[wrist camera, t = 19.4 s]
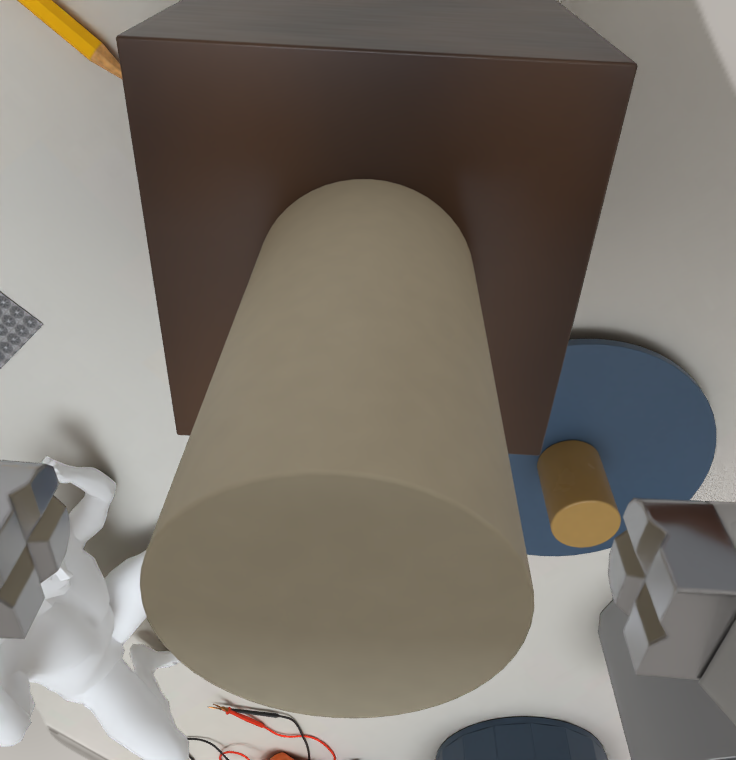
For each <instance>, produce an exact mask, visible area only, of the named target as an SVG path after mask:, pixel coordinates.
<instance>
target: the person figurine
mask: <svg viewBox="0 0 736 760" xmlns="http://www.w3.org/2000/svg"><path fill="white" fill-rule="evenodd" d="M41 463H44V464H48V465H51V466H53V467H54V470H55V472H56V475H57V478H58V481H59V482H61V483H68V482H71V483H72V484H74V485H75V486H77V487H79V488H80V489H82V490H83V491H84V492H85V497H84V498H83V499H82V500H81V501H80V502H79V503H78V504H77V505H76V506H75V507H74V508H73V510H72V511H71V512H70V514H69V518H70V537H69V542H68V547H67V552H66V555H65V557H64V559H63V561H62V564H61V566H60V568H59V570H58V571H57V572H56V573H55V574H53V575H52V576H50V577H49V578H48V579H46V580H45V581H43V582H42V583H41V586H42V589H43V592H44V595H45V599H44V601H43V603H42V605H41V607H40V609H39V611H38V613H37V615H36V617H35V619H34V621H33V623H32V625H31V627H30V629H29V631H28V633H27V635H26V637H25V639H9V638H0V747H3V746H13V745H15V744H17V743H19V742H20V741H21V740H22V739H23V737H24V734H25V732H26V730H27V728H28V727H29V726H30V724H31V720H30V717H31V714H32V712H33V709H34V707H35V702H34V700H33V697H32V695H31V692H30V683H29V682H35V683H39V684H41V685H43V686H45V687H47V689H48V690H50V691H53V692H56V693H57V694H58V695H60V696H61V697H62V698H63V699H65V700H66V701H70V702H75V703H79V704H83V705H84V706H85V707H86V708H88V709H89V710H91V711H92V712H93V714H94V715H95V717H96V718H97V720H98V721H99V723H100V724H101V726H102V727H103V729H104V730H105V732H106V733H107V735H108V736H109V737H110V738H111V739H113V740H114V741H116V742H117V743H119V744H120V745H122V746H123V747H125V748H126V749H128V750H129V751H131V752H132V753H134V754H135V755H137V756H138V757H140V758H141V759H143V760H189V741H188V739H187V737H186V735H185V734H184V733H182V732H181V731H180V730H179V729H178V728H177V727H176V724H175V722H174V719H173V717H172V714H171V711H170V705H169V701H168V700H167V699H166V697H165V696H164V694H163V693H162V691H161V689H160V687H159V685H158V683H157V681H156V678H155V676H154V674H153V673H154V672H155V670H156V669H158V668H162V667H165V668H166V667H171V666H172V665H176V664H177V663H178V662H180V661H179V660H178V659H177V658H176V657H175V656H174V655H173V654H172V653H171V652H170V651H161V652H157V651H155V650H153V649H151V648H149V647H147V646H145V645H143V644H133V645H132V646H131V648H130V653H129V654H130V657H131V660H132V663H133V666H134V671H133V670H132V669H131V668H130V667H129V666H128V664H127V663H126V662H125V661H124V660H123V659H122V657H123V654H124V651H125V650H124V648H123V645H124V643H125V642H126V641H127V640H128V639H129V637H130V636H131V635H132V634H133V633H134V631H135V630H136V629H137V628H138V627H139V625H140V624H141V623H142V622H143V621H144V619H145V618H146V617H147V616H146V613H145V611H144V608H143V605H142V599H141V591H140V574H141V566H142V563H143V560H144V556H145V553H146V550H145V551H144V552H142V553H140V554H139V555H136V556H133V557H131V558H128V559H126V560H125V561H124V562H122V563H121V564H120V565H118V566H117V567H116V568H114V569H113V570H112V571H110V573H109V574H108V575H107V576H106V577H105V578H104V577H103V575H102V573H101V570H100V568H99V566H98V564H97V562H96V560H95V558H94V557H93V556H91V555H90V554H89V553H87V552H86V551H84V550H83V549H84V546H85V544H86V542H87V541H88V540H89V539H90V538H92V537H93V536H94V535H95V534H96V533H97V532H98V531H100V530H101V529H102V528H103V526H104V523H105V521H106V518H107V513H108V508H109V506H110V504H111V502H112V500H113V498H114V496H115V491H116V483H115V482H114V481H113V480H112V479H111V478H109V477H108V476H107V475H105V474H104V473H103V472H101V471H100V470H98V469H96V468H93V467H74V466H70V465H66V464H64V463H61V462H59V461H56V460H54V459H52V458H50V457H48V456H46V457H45V458H44V459H43V461H42V462H41ZM180 663H181V662H180Z"/></svg>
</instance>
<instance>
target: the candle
mask: <svg viewBox="0 0 736 760" xmlns="http://www.w3.org/2000/svg"><path fill="white" fill-rule="evenodd" d="M140 591H141V599H142V605H143V608H144V611H145V613H146V616H147V619H148V621H149V623H150V625H151V627H152V628H153V630H154V632H155V634H156V635H157V636H158V638H159V639H160V640H161V642H162V643H163V644H164V646H165V647H166V648H167V649H168V650H169V651H170V652H171V653H172V654H173V655H174V656H175V657H176V658H177V659H178V660H179V661H180V662H181V663H183V664H184V665H185V666H186V667H188V668H189V669H190V670H192V671H193V672H194V673H196V674H197V675H199V676H200V677H202V678H204V679H205V680H207V681H208V682H210V683H212V684H213V685H215V686H217V687H219V688H221V689H223V690H225V691H227V692H229V693H232V694H234V695H236V696H239V697H241V698H244V699H246V700H249V701H252V702H255V703H258V704H261V705H264V706H268V707H271V708H275V709H280V710H284V711H288V712H293V713H299V714H305V715H311V716H321V717H332V718H372V717H383V716H392V715H400V714H405V713H410V712H415V711H420V710H423V709H427V708H430V707H434V706H438V705H440V704H443V703H446V702H448V701H451V700H454V699H456V698H459V697H461V696H463V695H465V694H467V693H469V692H471V691H473V690H475V689H476V688H478V687H479V686H481V685H483V684H484V683H486V682H487V681H489V680H490V679H492V678H493V677H494V676H495V675H496V674H498V673H499V672H500V671H501V670H502V669H504V668H505V666H506V665H507V664H508V663H509V662H510V661H511V660H512V659H513V658H514V656H515V655H516V654H517V652H518V651H519V649H520V648H521V646H522V644H523V643H524V641H525V639H526V636H527V634H528V631H529V629H530V626H531V622H532V617H533V612H534V591H533V585H532V580H531V574H530V569H529V564H528V558H527V553H526V547H525V542H524V537H523V531H522V526H521V520H520V515H519V510H518V504H517V499H516V493H515V488H514V482H513V477H512V472H511V466H510V461H509V455H508V450H507V445H506V439H505V434H504V428H503V423H502V418H501V412H500V407H499V401H498V396H497V391H496V385H495V380H494V374H493V369H492V364H491V358H490V353H489V347H488V342H487V337H486V331H485V326H484V320H483V315H482V310H481V304H480V299H479V293H478V288H477V283H476V277H475V272H474V266H473V262H472V257H471V253H470V250H469V248H468V245H467V242H466V240H465V238H464V236H463V234H462V233H461V231H460V229H459V228H458V226H457V225H456V224H455V222H454V221H453V220H452V218H451V217H450V216H449V215H448V214H447V213H446V212H445V211H444V210H443V209H442V208H441V207H440V206H438V205H437V204H436V203H434V202H433V201H432V200H430V199H429V198H428V197H426V196H424V195H422V194H420V193H419V192H417V191H415V190H413V189H410V188H408V187H405V186H402V185H400V184H396V183H392V182H388V181H382V180H373V179H353V180H346V181H339V182H335V183H332V184H328V185H325V186H322V187H320V188H318V189H315V190H313V191H311V192H309V193H307V194H306V195H304V196H302V197H301V198H299V199H298V200H296V201H295V202H294V203H293V204H291V205H290V206H289V207H288V208H287V209H286V210H285V211H284V212H283V213H282V214H281V215H280V216H279V217H278V218H277V220H276V221H275V223H274V224H273V225H272V227H271V228H270V230H269V232H268V234H267V236H266V238H265V240H264V242H263V245H262V248H261V250H260V253H259V256H258V258H257V261H256V264H255V266H254V269H253V271H252V274H251V277H250V279H249V282H248V285H247V287H246V290H245V292H244V295H243V298H242V300H241V303H240V306H239V308H238V311H237V313H236V316H235V319H234V321H233V324H232V327H231V329H230V332H229V335H228V337H227V340H226V342H225V345H224V348H223V350H222V353H221V356H220V358H219V361H218V363H217V366H216V369H215V371H214V374H213V377H212V379H211V382H210V384H209V387H208V390H207V392H206V395H205V398H204V400H203V403H202V406H201V408H200V411H199V413H198V416H197V419H196V421H195V424H194V427H193V429H192V432H191V434H190V437H189V440H188V442H187V445H186V448H185V450H184V453H183V456H182V458H181V461H180V463H179V466H178V469H177V471H176V474H175V477H174V479H173V482H172V484H171V487H170V490H169V492H168V495H167V498H166V500H165V503H164V505H163V508H162V511H161V513H160V516H159V519H158V521H157V524H156V527H155V529H154V532H153V534H152V537H151V540H150V542H149V545H148V548H147V550H146V553H145V556H144V560H143V563H142V566H141V574H140Z"/></svg>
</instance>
